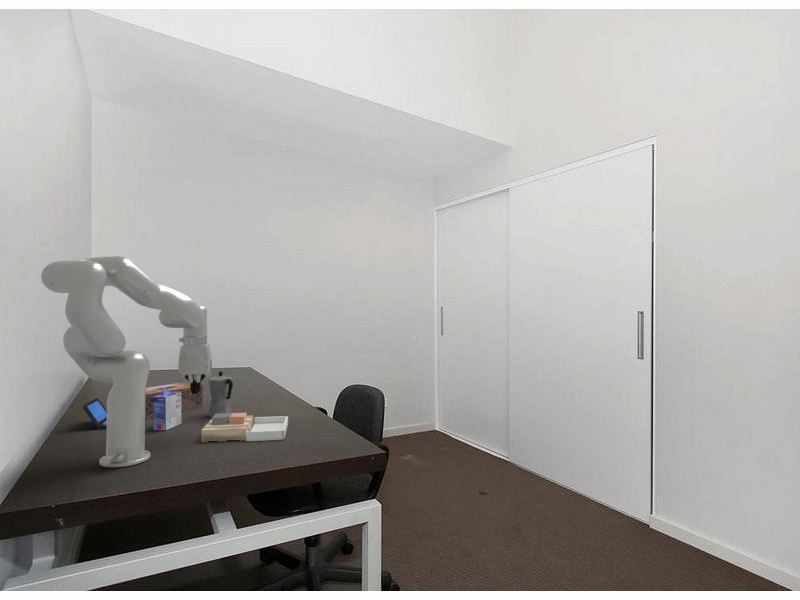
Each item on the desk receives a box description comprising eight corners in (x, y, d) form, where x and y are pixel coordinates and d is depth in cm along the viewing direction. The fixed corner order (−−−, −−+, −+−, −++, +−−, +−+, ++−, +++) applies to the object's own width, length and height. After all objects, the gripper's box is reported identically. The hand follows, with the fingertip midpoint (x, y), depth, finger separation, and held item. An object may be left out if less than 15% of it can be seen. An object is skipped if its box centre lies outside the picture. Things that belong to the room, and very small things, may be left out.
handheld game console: (123, 428, 164) (123, 403, 164) (80, 431, 160) (81, 405, 160) (135, 418, 179) (135, 395, 179) (96, 420, 175) (97, 397, 175)
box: (284, 439, 151) (284, 430, 151) (246, 441, 149) (246, 432, 149) (287, 423, 171) (287, 416, 171) (254, 425, 169) (254, 417, 169)
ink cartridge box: (168, 423, 171) (169, 385, 171) (182, 423, 170) (182, 385, 171) (151, 430, 161) (152, 390, 161) (166, 430, 161) (166, 390, 161)
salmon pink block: (243, 423, 156) (244, 416, 156) (228, 424, 155) (228, 417, 155) (246, 419, 161) (246, 412, 162) (232, 420, 161) (232, 413, 161)
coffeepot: (200, 414, 185) (201, 371, 185) (222, 410, 192) (222, 368, 192) (220, 421, 175) (220, 374, 175) (242, 416, 182) (242, 372, 183)
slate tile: (227, 424, 155) (227, 417, 155) (211, 425, 154) (212, 417, 154) (230, 420, 160) (230, 413, 160) (215, 420, 160) (215, 413, 160)
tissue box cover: (183, 403, 206) (183, 382, 207) (202, 407, 199) (203, 385, 199) (124, 415, 185) (125, 390, 185) (143, 419, 177) (144, 394, 177)
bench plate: (245, 440, 150) (245, 428, 150) (201, 442, 147) (201, 430, 147) (253, 426, 168) (253, 415, 168) (213, 427, 165) (213, 416, 165)
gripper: (168, 342, 151) (169, 396, 151) (215, 341, 154) (215, 395, 154) (175, 340, 158) (175, 392, 159) (220, 339, 161) (220, 390, 161)
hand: (195, 393), depth 156 cm, fingers closed
